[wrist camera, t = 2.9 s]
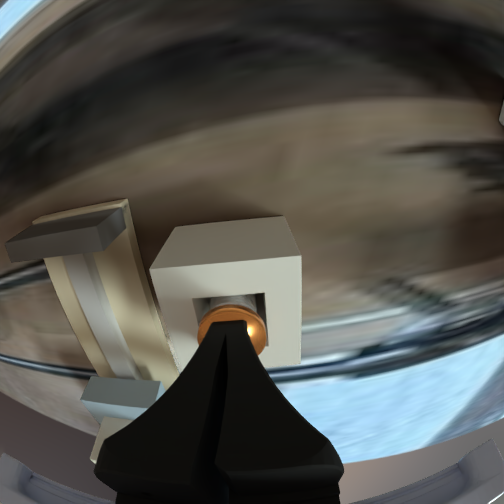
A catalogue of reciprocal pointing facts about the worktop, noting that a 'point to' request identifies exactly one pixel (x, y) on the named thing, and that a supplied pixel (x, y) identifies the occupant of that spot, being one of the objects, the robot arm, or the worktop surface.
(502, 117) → the skincare box
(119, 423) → the carriage
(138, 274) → the rail
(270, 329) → the white button housing
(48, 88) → the worktop surface
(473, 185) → the worktop surface
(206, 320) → the button
